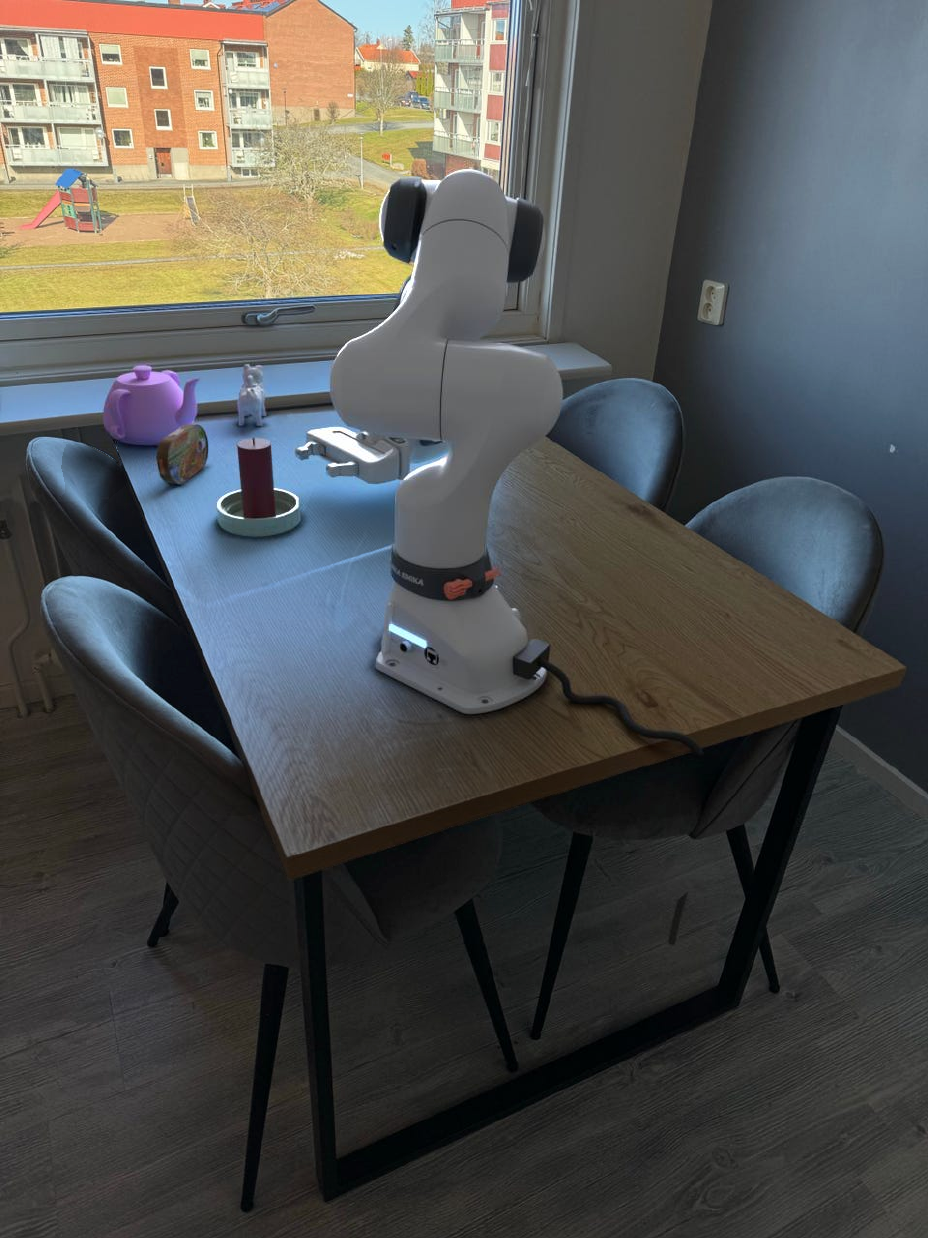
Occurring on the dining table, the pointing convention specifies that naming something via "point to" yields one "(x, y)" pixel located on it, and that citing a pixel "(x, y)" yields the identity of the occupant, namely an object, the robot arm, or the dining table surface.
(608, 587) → the dining table surface
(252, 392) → the dog figurine
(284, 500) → the bowl
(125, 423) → the teapot
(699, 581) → the dining table surface
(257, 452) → the candle
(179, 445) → the tin
